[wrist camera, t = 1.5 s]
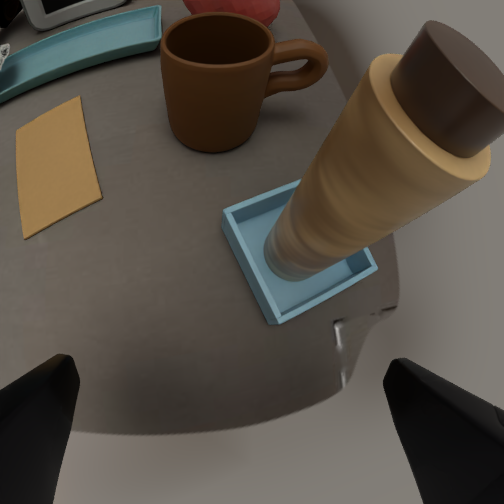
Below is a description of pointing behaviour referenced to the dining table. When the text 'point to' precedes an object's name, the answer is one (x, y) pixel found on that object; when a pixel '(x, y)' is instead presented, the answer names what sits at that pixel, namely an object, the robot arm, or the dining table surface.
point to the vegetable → (238, 8)
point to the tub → (259, 274)
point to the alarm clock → (63, 11)
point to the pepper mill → (393, 152)
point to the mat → (54, 167)
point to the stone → (3, 53)
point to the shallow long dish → (80, 49)
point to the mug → (227, 76)
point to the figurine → (9, 11)
